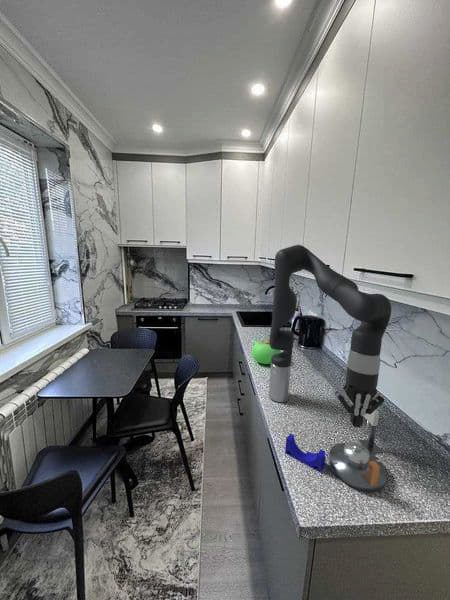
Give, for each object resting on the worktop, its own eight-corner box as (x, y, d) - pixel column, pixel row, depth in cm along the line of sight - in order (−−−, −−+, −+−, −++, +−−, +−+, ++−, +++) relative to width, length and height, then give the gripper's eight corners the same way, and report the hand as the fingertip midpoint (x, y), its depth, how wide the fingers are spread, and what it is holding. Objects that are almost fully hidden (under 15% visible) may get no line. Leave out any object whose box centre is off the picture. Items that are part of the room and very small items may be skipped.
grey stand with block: (358, 442, 91) (364, 402, 88) (371, 441, 91) (377, 402, 88) (368, 455, 85) (375, 413, 82) (382, 454, 85) (389, 413, 83)
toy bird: (253, 368, 148) (254, 344, 146) (249, 356, 165) (250, 335, 162) (282, 368, 149) (284, 345, 146) (276, 356, 166) (277, 336, 163)
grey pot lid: (320, 448, 86) (322, 428, 84) (364, 447, 87) (367, 427, 85) (345, 492, 70) (349, 468, 68) (399, 490, 71) (403, 466, 70)
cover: (338, 452, 82) (340, 438, 81) (358, 451, 82) (360, 437, 81) (351, 470, 75) (353, 455, 74) (372, 469, 75) (375, 454, 74)
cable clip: (324, 464, 81) (326, 448, 80) (320, 473, 78) (321, 457, 76) (290, 446, 88) (292, 431, 87) (285, 453, 85) (286, 438, 84)
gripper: (344, 372, 63) (337, 433, 66) (396, 374, 63) (388, 436, 65) (332, 360, 71) (326, 416, 73) (379, 362, 70) (372, 418, 73)
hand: (355, 425), depth 69 cm, fingers closed
